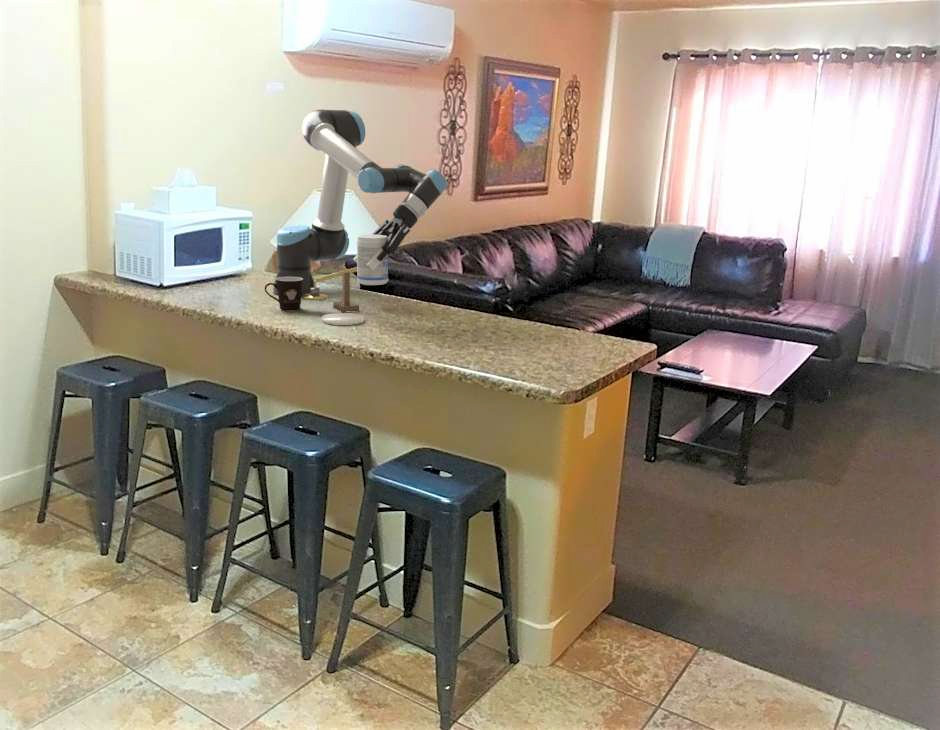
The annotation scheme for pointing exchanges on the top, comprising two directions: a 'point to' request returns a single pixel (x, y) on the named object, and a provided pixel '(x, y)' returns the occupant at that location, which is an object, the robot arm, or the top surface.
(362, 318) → the plate
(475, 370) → the top surface
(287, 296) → the coffee mug
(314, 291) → the balance
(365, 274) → the supplement tub
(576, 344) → the top surface
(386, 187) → the robot arm
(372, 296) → the top surface
